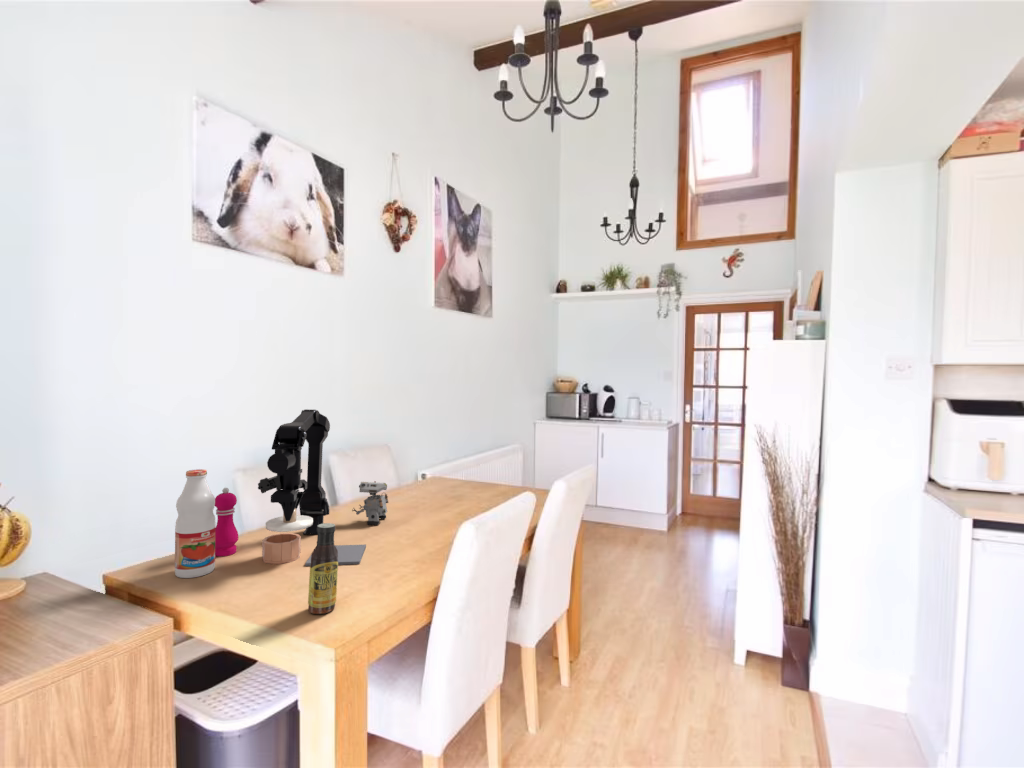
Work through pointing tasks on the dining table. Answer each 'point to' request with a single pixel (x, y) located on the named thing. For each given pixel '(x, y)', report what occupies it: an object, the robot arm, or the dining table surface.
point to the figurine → (374, 502)
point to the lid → (289, 523)
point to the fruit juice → (195, 527)
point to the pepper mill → (225, 524)
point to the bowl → (281, 548)
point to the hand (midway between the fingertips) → (289, 519)
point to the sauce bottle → (323, 572)
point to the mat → (347, 554)
